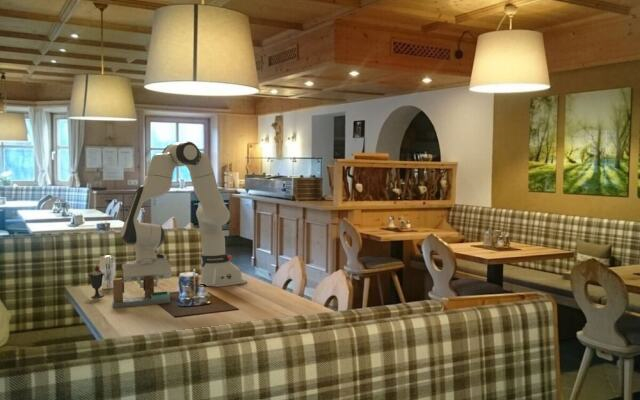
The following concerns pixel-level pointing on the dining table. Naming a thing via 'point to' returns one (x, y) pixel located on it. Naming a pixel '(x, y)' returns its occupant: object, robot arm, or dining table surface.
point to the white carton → (107, 270)
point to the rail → (138, 301)
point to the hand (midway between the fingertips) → (148, 286)
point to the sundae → (96, 281)
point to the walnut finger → (148, 285)
